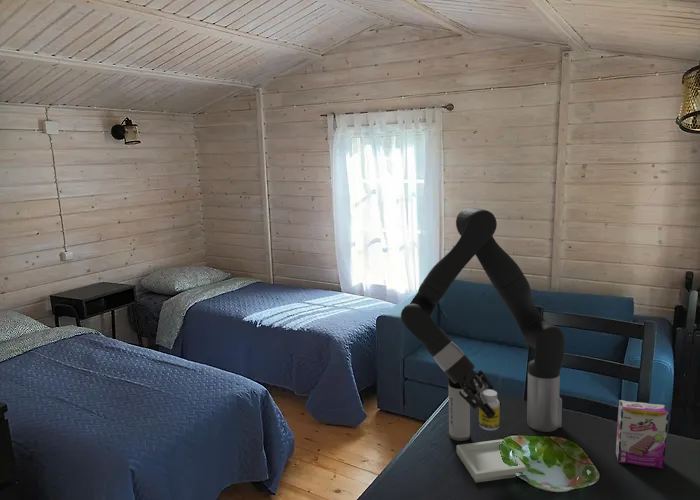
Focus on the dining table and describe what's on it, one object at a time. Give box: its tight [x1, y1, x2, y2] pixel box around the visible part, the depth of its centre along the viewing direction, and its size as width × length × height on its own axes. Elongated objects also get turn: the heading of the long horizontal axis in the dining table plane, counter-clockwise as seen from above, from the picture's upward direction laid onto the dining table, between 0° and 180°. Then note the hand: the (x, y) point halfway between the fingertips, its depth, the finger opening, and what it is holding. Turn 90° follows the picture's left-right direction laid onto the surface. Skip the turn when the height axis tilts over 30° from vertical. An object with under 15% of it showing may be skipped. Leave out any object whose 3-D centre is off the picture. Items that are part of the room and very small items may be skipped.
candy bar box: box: [615, 399, 669, 470], centre depth 139 cm, size 11×5×16 cm, turn 71°
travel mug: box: [448, 377, 471, 442], centre depth 156 cm, size 6×7×20 cm
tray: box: [456, 438, 527, 484], centre depth 142 cm, size 14×14×2 cm
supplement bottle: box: [478, 389, 501, 431], centre depth 140 cm, size 5×5×10 cm
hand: (495, 411), depth 139 cm, fingers closed on supplement bottle, 5 cm apart
